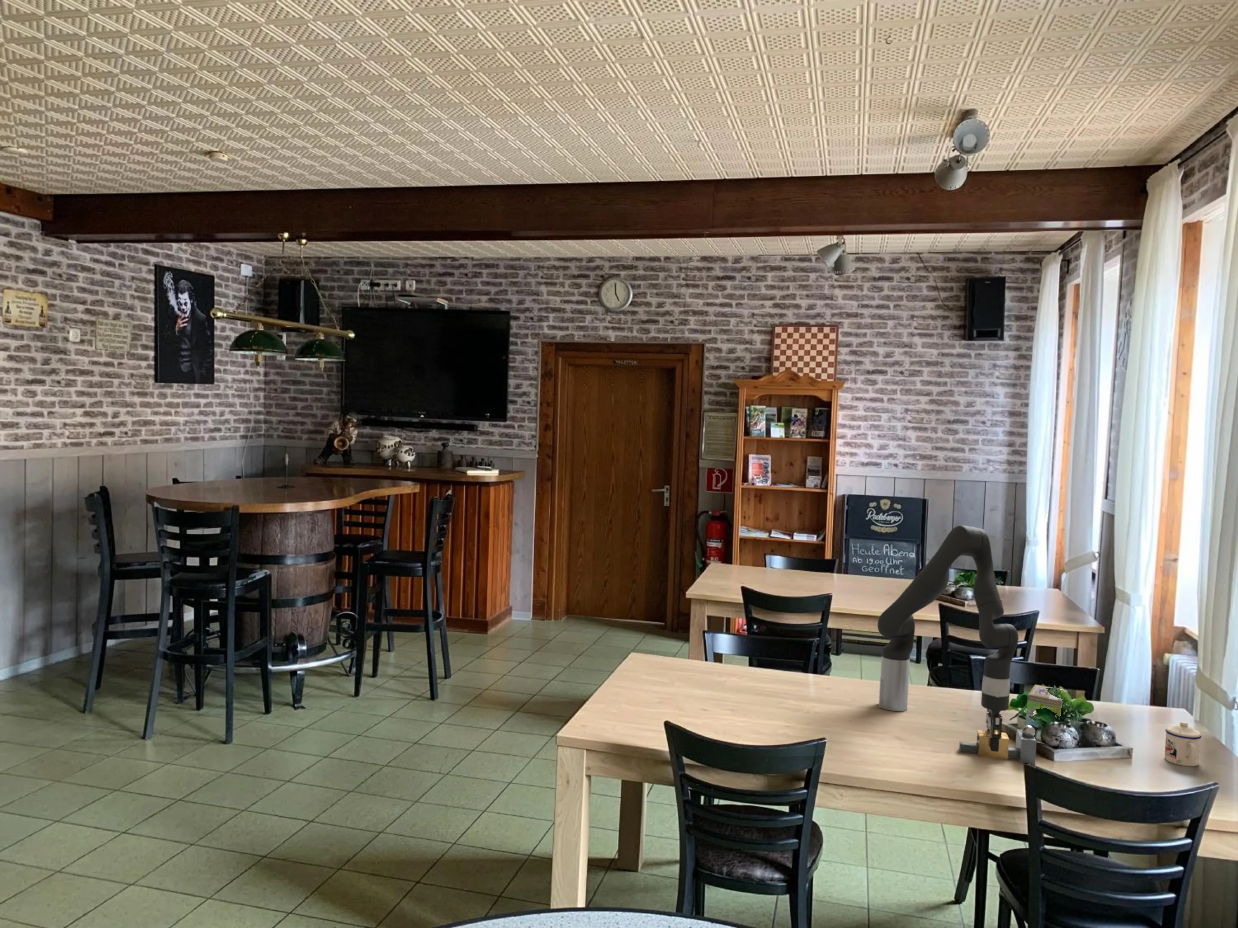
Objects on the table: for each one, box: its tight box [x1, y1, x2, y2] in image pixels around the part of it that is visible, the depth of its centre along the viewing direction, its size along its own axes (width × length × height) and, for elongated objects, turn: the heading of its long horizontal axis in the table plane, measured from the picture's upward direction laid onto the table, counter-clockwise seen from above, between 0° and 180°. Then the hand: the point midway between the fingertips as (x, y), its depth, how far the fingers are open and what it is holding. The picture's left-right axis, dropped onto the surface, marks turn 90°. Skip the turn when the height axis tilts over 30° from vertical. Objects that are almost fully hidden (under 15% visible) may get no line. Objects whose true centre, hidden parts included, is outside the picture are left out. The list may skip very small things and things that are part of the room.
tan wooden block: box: [976, 729, 1010, 760], centre depth 274 cm, size 8×6×6 cm
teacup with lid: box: [1164, 721, 1202, 767], centre depth 273 cm, size 12×9×12 cm
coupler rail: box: [958, 725, 1037, 765], centre depth 274 cm, size 20×9×10 cm, turn 75°
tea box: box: [1024, 684, 1069, 732], centre depth 290 cm, size 15×10×15 cm
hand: (992, 745), depth 274 cm, fingers open, 8 cm apart
